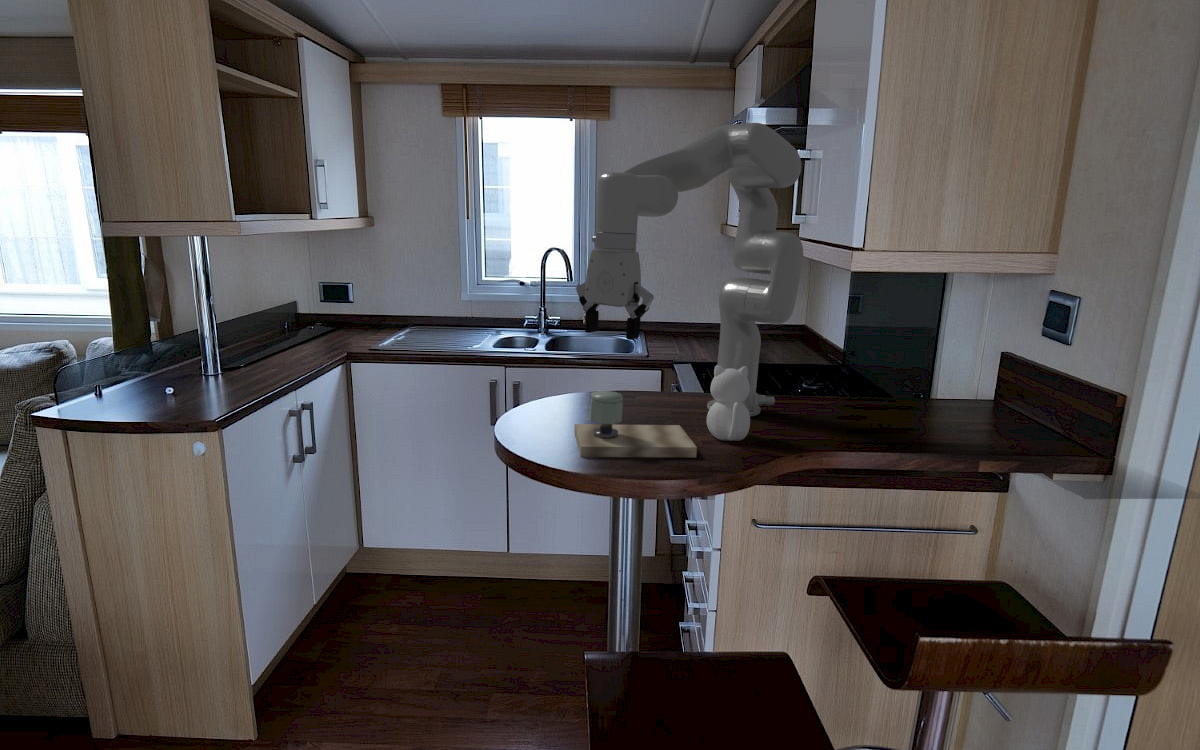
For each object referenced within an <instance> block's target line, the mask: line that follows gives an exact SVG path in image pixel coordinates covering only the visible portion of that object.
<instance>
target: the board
mask: <svg viewBox="0 0 1200 750" xmlns="http://www.w3.org/2000/svg"><path fill="white" fill-rule="evenodd" d="M596 428H600V424H599V423H597V424H594V423H593V424H592V423H591V424H590V423H588V424H587V423H586V424H585V423H574V438H575V440H576V445H577V449H578V452H579V456H580V458H697V453H698V452H697V451H698V447H697V445H696V444H695V443H694V442H693V440H692V439H691V438H690V437H689V435H688V434H687V432H686V431H685V430H684V428H682V426H681V425H679V424H612V428H613V429H616V430H617V431H618V437H616V438H613V439H602V438H598V437H595V436H594V435H593V434H594V429H596Z"/></svg>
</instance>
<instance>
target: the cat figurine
mask: <svg viewBox="0 0 1200 750" xmlns="http://www.w3.org/2000/svg"><path fill="white" fill-rule="evenodd" d="M713 375H714V377H713V378H712V380H711V383H710V389H709V390H710V394H711V396H712V398H713V400H714V399H715V400H716V401H717V402H715V403H714V404H713V405H712V406H711V408H710V409H708V412H707V415H706V425H707V428H708V430H709V432H710V434H711V435H712V436H713V437H715V438H716V439H717V440H719V441H730V442H731V441H739V442H740V441H742V440H744V439H745V438H746V437H747V436H748V434H749V430H750V426H751V425H750V424H751V417H750V414H749V411H748V409H747V408H746V406H745V405H744V404H743V403H742V402H743V401H744V400H745V399H746V398H747V397H748V395H749V392H750V385H749V381H748V379H747V376H748V370H747V367H746V366H743V367H741V368H740V369H739V370H736V369H732V368H728V369H724V368H723V367H721V366H719V365H717V364H716V365H715V366H714V369H713Z"/></svg>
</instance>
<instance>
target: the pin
mask: <svg viewBox="0 0 1200 750" xmlns="http://www.w3.org/2000/svg"><path fill="white" fill-rule="evenodd" d="M612 425H613V424H600V428H596V429H594V434H593V435H594V436H595V437H598V438H602V439H613V438H616V437H618V431H617V430H616V429H613V428H612Z"/></svg>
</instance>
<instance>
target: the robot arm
mask: <svg viewBox="0 0 1200 750" xmlns="http://www.w3.org/2000/svg"><path fill="white" fill-rule="evenodd" d="M801 172H802V160H801V156H800V153H799V152H798V150H797V148H796V147H794V146H793V145H792V144H791V143H790V142H789V141H788V140H787V139H785V138H784V137H783V136H781V135H780V134H779V133H778V132H777V131H775V130H774V129H772V128H771V127H770V126H768V125H765V124H764V123H761V122H745V123H734V124H733V123H732V124H724V125H720V126H717V127H715V128H714V129H712V130H710V131H709V132H706V133H705V134H703V135H702V136H700V137H698V138H697V139H695V140H694V141H691V142H690V143H688V144H686V145H685V146H683V147H680V148H678V149H674V150H672V151H669V152H667V153H663V154H662V155H658V156H656V157H653V158H651V159H648V160H645V161H642V162H640V163H638V164H635V165H634V166H632V167H630V168H628V169H626V170H625V171H623V172H605V173H602V174H601V175H600V176H599V178H598V179H597V192H596V194H597V196H596V200H597V201H596V220H595V223H596V224H595V225H596V226H595V235H593V236H592V237H591V242H592V243H593V244H595V245H594V248H595V249H591V251H590V255H589V259H588V262H587V263H588V264H587V268H586V277H585V281H584V282H583V283H581V284H579V285H577V286H576V288H575V289H576V293H577V297H578V300H579V301H578V302H579V303H580V305H582V310H583V311H584V312H585V323H584V324H585V326H584V327H585V328H584V329H585V333H588V334H589V333H594V332H598V331H599V317H600V316H599V315H600V313H599V310H598V307H599V306H600V305H601V306H610V307H616V308H623V307H624V308H625V310H626V312H627V313H628V315H629V317H627V319H626V329H625V330H626V334H625V338H626V340H628V341H630V340H635V339H639V337H640V332H641V319H642V317H644V315H645V314H646V313H647V312H648V311H649V309H650V306H651V305H652V303H653V301H654V299H655V296H654V295H653V294H652V293H651V292H650V291H649V290H647V289H646V288H645V287H644V286H642V273H641V262H640V255H639V252H638V251H637V242H638V241H637V239H638V238H637V237H638V220H639V219H638V218H639V217H651V218H653V217H654V218H655V217H657V218H659V217H663V216H666V215H668V214H669V213H671V212H673V210H674V209H675V207H676V206H677V204H678V201H679V193H681V192H687V191H691V190H696V189H699V188H701V187H703V186H705V185H707V184H708V183H710V182H711V181H712V180H714V179H716V178H717V177H718V176H720V175H722V174H723V173H725V174H726V177H727V179H728V181H729V183H730V185H731V186H732V189H733V190H734V192H735V194H736V196H737V200H738V203H739V215H738V223H737V229H736V233H735V240H734V247H733V253H732V255H733V256H732V261H733V262H732V263H733V264H734V266H735V268H736V269H738V270H740V271H743V272H746V273H753V274H761V275H762V274H763V275H770V280H767V279H760V278H759V279H758V278H750V277H734V278H731V279H729V280H727V281H726V282H724V283H723V285H722V286H721V288H720V289H719V294H718V307H719V316H720V318H719V319H720V321H719V322H720V328H719V329H720V330H719V331H720V332H719V342H718V343H719V344H718V352H717V353H718V355H717V363H716V365H719V366H721V367H723V368H724V369H728V368H732V369H736V370H739V369H740V368H741V367H743V366H746V367H747V370H748V376H747V379H748V381H749V385H750V392H749V395H748V397H747V398H746V399H745V400H744V401H743V402H742V403H743V404H744V405H745V406H746V408H747V409H748V411H749V414H750V418H751V417H756V416H758V415H759V414H761V410H762V408H761V406H763V405H767V406H768V405H769V406H770V405H771V406H773V405H775V403H776V399H775V397H774V396H766V395H764V394H763V395H762V394H759V393H758V392H756V391H757V383H758V382H757V381H758V373H759V362H760V353H761V345H762V342H761V339H762V337H761V334H760V330H759V327H758V326H757V323H762V324H769V325H782V324H784V323H787V322H788V320H789V319H791V316H792V315H793V312H794V309H795V306H796V301H797V296H798V290H799V287H800V286H799V285H800V281H801V280H800V279H801V274H802V268H803V265H804V264H803V263H804V248H803V243H802V241H801V239H800V237H799V236H798V235H796V234H794V233H792V232H790V231H789V232H787V231H777V230H776V229H777V222H778V214H779V211H778V210H779V209H778V204H777V201H776V199H775V196H774V195H773V194H772V192H771V190H770V189H783V188H788V187H791V186H793V185H794V184H795V183H796V182H797V181H798V179H799V177H800V174H801ZM641 298H642V301H641ZM640 301H641V304H639V303H640ZM756 322H757V323H756ZM715 402H717V401H716V400H715V399H714V398H713V399H712V400H710V401H708V402H707V405H706V407H707V409H708V410H709V409H710V408H711V406H712V405H713V404H714V403H715Z"/></svg>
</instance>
